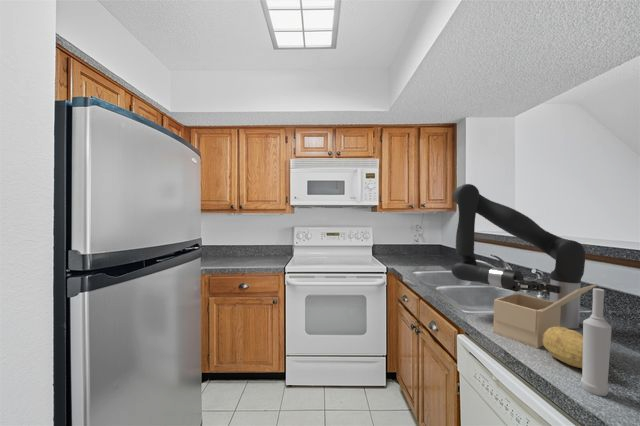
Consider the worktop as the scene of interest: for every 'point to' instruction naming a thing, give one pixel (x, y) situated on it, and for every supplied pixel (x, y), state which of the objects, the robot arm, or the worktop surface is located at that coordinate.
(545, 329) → the carton
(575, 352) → the potato
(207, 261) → the worktop surface
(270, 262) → the worktop surface
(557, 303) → the carton flap
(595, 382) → the bottle
